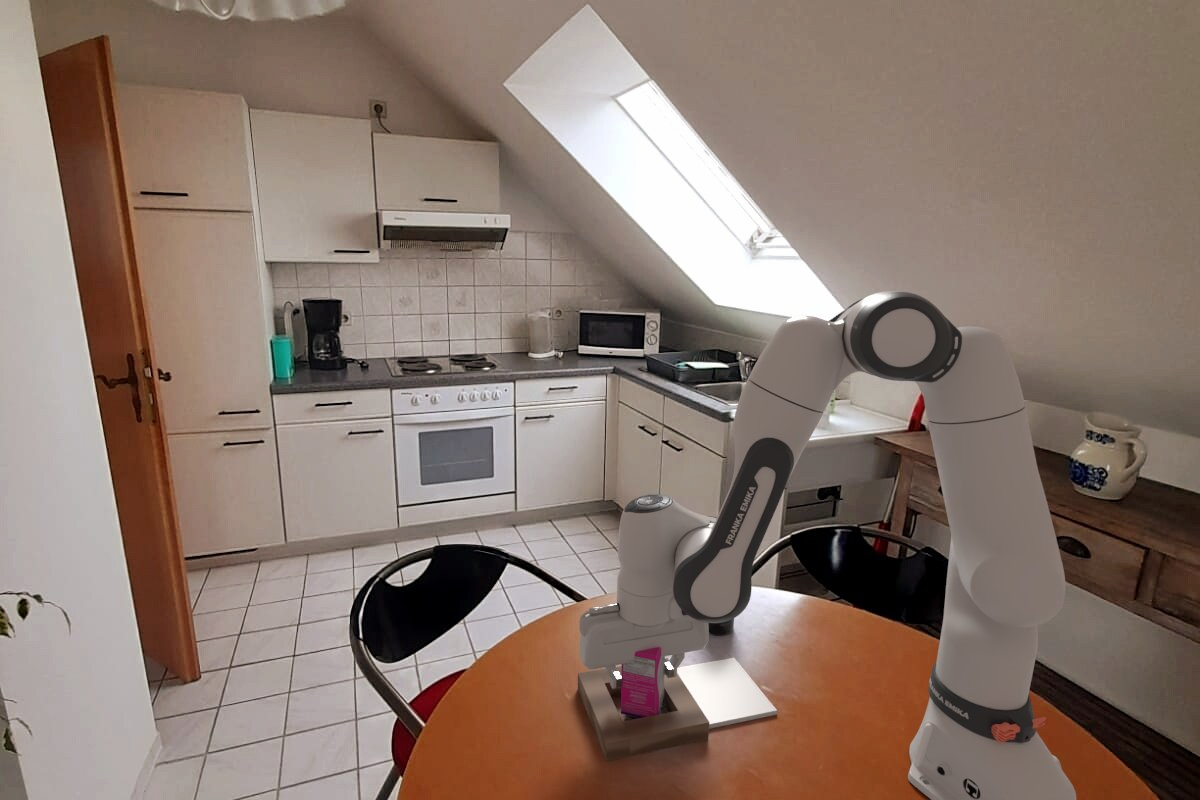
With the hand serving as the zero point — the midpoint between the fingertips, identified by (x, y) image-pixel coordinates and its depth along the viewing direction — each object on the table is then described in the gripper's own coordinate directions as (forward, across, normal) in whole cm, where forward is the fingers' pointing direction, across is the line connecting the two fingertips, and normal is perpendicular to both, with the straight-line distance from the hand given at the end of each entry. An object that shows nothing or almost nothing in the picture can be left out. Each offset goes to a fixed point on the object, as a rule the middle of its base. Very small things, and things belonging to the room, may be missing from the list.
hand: (643, 680), depth 99 cm
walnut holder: (+6, 0, 0) cm, 6 cm away
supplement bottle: (+6, +23, +19) cm, 30 cm away
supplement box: (+5, 0, 0) cm, 5 cm away
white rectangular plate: (+6, +15, +1) cm, 16 cm away
